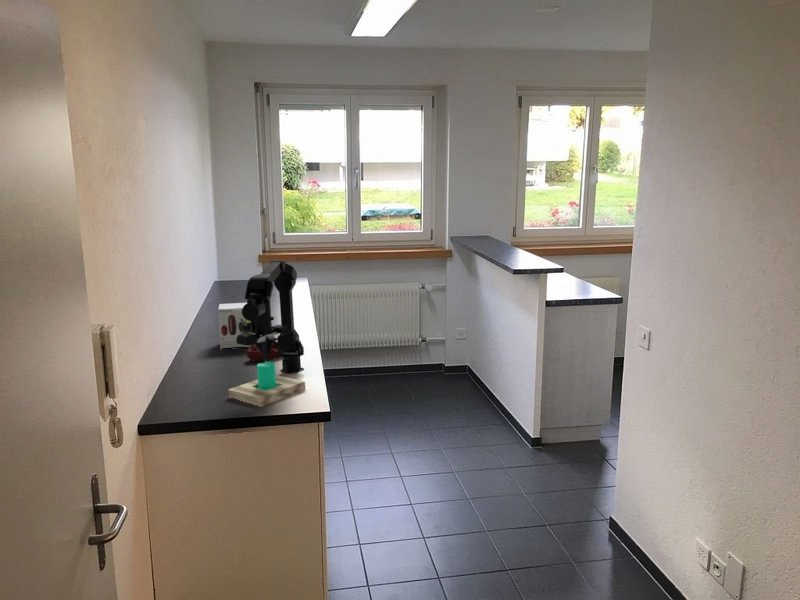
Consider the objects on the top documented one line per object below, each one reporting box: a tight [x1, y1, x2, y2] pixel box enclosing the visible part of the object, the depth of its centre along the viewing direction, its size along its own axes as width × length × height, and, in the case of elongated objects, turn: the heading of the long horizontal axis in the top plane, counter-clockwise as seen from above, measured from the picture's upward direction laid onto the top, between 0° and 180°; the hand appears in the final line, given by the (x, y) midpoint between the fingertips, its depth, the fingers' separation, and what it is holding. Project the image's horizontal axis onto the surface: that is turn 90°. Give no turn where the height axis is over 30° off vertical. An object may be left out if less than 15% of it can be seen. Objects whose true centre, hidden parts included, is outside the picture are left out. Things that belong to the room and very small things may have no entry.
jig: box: [227, 374, 306, 408], centre depth 221 cm, size 20×16×3 cm
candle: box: [256, 360, 276, 390], centre depth 220 cm, size 6×6×12 cm
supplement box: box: [217, 301, 255, 350], centre depth 287 cm, size 17×13×18 cm
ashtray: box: [246, 340, 283, 362], centre depth 268 cm, size 18×16×5 cm
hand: (265, 359), depth 219 cm, fingers closed
